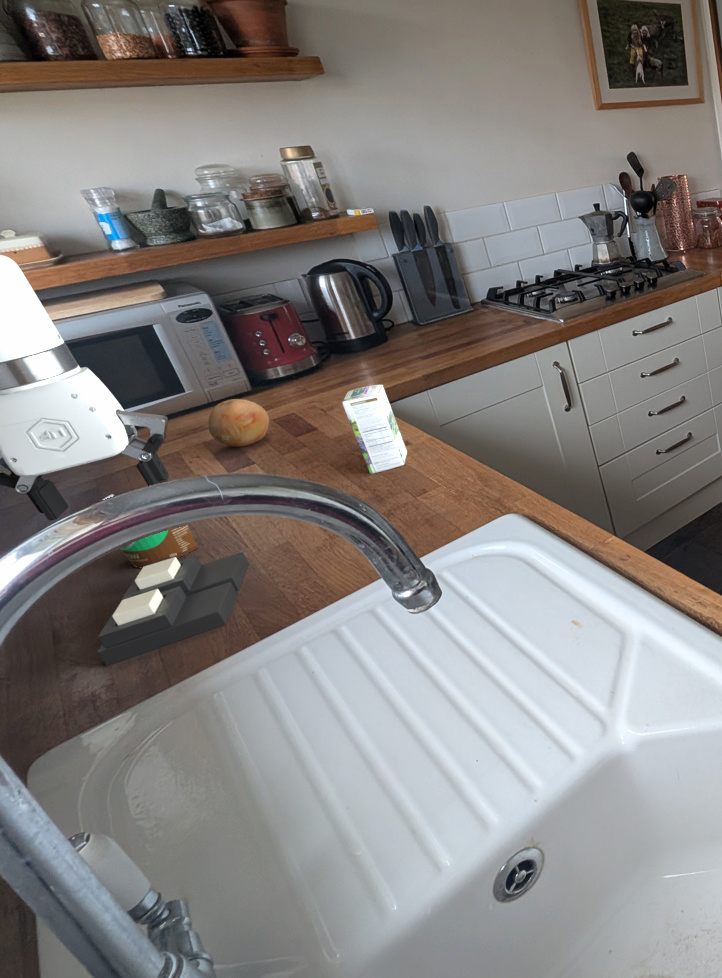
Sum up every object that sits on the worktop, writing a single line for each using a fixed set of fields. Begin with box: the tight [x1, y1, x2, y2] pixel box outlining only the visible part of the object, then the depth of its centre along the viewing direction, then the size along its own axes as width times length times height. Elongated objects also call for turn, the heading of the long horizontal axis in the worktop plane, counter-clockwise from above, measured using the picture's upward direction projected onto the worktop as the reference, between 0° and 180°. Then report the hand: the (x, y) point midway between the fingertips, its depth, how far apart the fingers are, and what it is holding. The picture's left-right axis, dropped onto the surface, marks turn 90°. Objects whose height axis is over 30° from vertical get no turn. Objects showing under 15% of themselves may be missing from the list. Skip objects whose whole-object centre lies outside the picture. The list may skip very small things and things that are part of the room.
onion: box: [208, 398, 270, 448], centre depth 139 cm, size 10×10×10 cm
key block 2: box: [96, 582, 239, 667], centre depth 86 cm, size 12×7×4 cm, turn 118°
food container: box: [101, 493, 199, 567], centre depth 100 cm, size 12×6×10 cm, turn 80°
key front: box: [112, 589, 164, 626], centre depth 84 cm, size 4×4×2 cm
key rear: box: [134, 557, 182, 590], centre depth 91 cm, size 4×4×2 cm
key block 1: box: [121, 552, 250, 601], centre depth 92 cm, size 12×7×4 cm, turn 118°
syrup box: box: [341, 384, 408, 475], centre depth 121 cm, size 6×6×14 cm
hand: (111, 500), depth 81 cm, fingers open, 9 cm apart
